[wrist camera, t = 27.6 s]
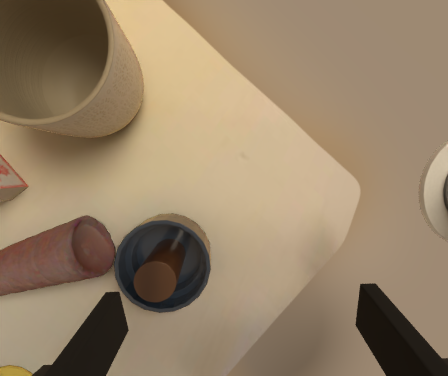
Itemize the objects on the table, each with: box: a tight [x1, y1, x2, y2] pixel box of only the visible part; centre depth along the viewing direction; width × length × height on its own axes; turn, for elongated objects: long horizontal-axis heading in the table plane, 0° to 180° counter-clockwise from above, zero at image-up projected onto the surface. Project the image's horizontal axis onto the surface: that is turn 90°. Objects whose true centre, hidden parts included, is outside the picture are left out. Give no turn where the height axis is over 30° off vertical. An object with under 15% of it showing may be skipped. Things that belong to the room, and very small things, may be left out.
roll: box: [134, 239, 186, 302], centre depth 34 cm, size 6×6×10 cm
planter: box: [0, 0, 144, 137], centre depth 30 cm, size 17×17×15 cm
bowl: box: [114, 213, 211, 313], centre depth 37 cm, size 14×14×6 cm
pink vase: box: [0, 216, 115, 296], centre depth 34 cm, size 21×9×9 cm, turn 111°
